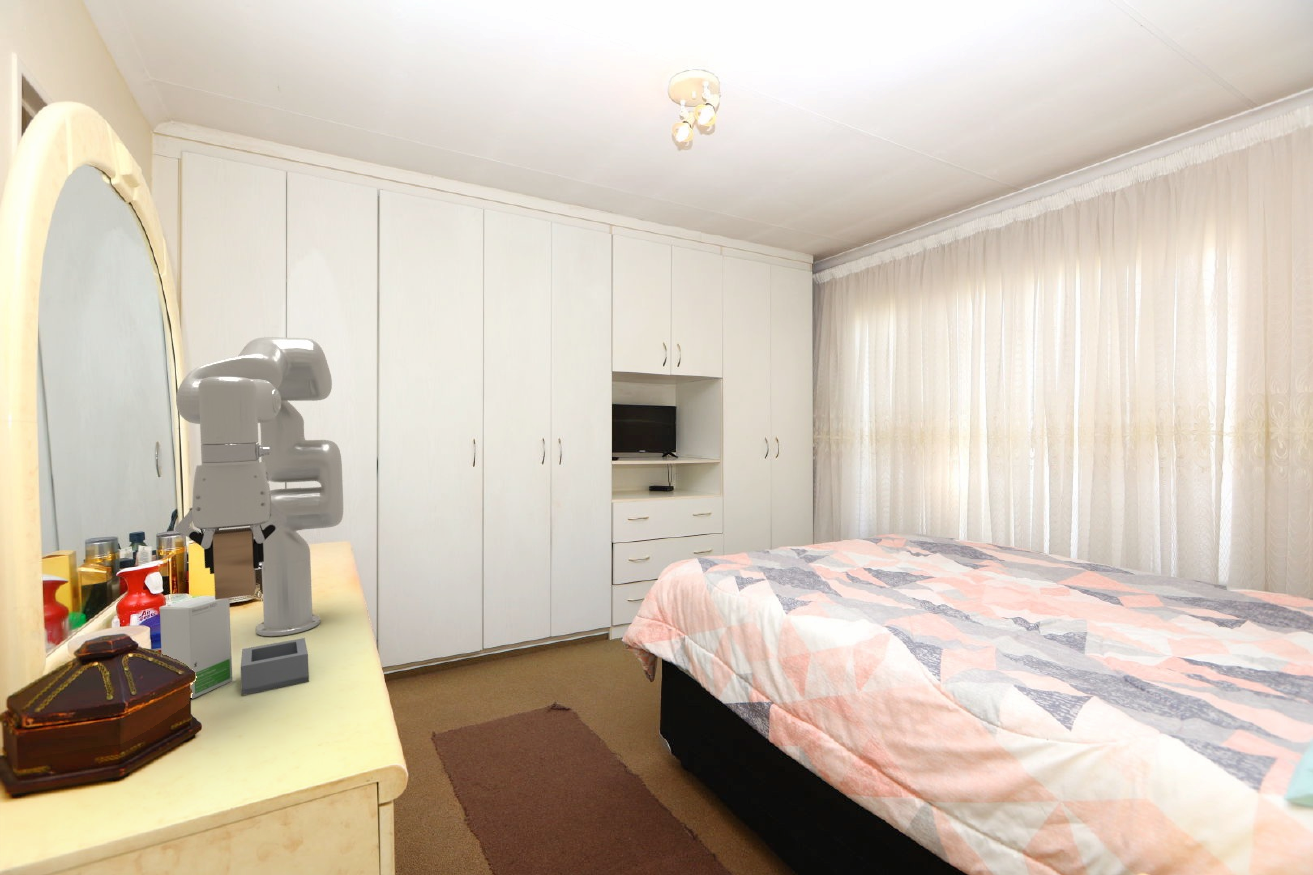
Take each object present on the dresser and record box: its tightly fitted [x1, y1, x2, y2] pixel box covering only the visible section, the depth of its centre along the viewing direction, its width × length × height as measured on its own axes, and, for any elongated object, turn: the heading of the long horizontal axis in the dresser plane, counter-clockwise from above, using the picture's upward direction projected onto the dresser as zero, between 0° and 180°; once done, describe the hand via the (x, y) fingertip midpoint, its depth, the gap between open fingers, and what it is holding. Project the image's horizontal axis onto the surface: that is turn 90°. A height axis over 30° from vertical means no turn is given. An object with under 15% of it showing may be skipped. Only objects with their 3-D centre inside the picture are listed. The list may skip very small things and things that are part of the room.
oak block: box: [213, 526, 257, 600], centre depth 98 cm, size 5×5×10 cm
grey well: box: [240, 637, 310, 697], centre depth 112 cm, size 10×10×5 cm
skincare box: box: [158, 595, 233, 700], centre depth 108 cm, size 8×7×16 cm
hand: (235, 568), depth 98 cm, fingers closed on oak block, 5 cm apart
